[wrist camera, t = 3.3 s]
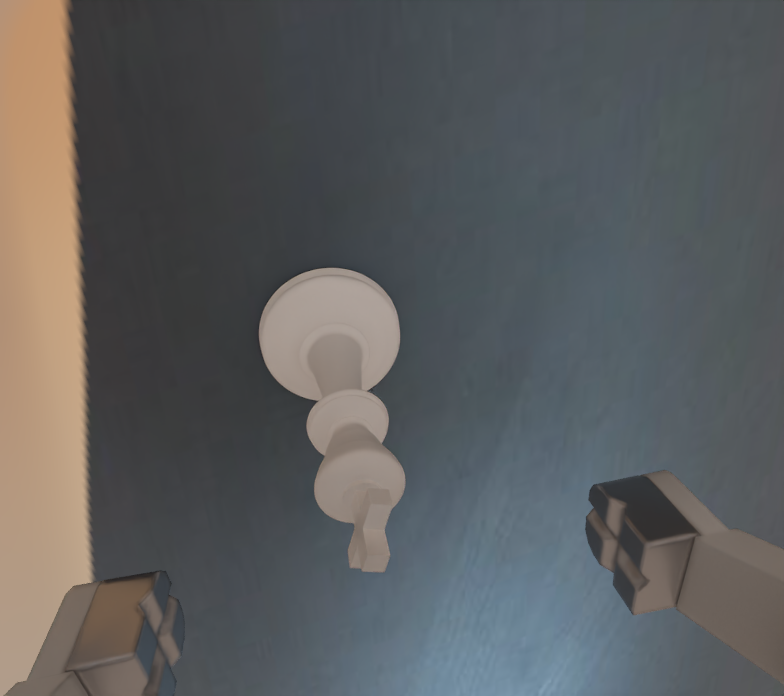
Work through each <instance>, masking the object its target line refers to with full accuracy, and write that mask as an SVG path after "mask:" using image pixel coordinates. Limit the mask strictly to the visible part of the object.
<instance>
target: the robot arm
mask: <svg viewBox="0 0 784 696" xmlns="http://www.w3.org/2000/svg"><path fill="white" fill-rule="evenodd" d="M588 500H589V501H590V503H591V504H592V506H593V507H594V508H593V509H592V510H591V512H590V513H589V514H588V515H587V516H586V528H585V530H586V535H587V539H588V543H589V546H590V548H591V550H592V553H593V555H594V556H595V558H596V559H597V561H598V562H599V564H600V565H601V566H603V567H605V568H606V569H608V570H610V571H611V572H613V573H614V577H613V586H614V587H615V589H616V590H617V592H618V593H619V595H620V596H621V598H622V599H623V601H624V602H625V604H626V605H627V607H628V608H629V610H630V611H631V613H632V614H633V615H637V614H642V613H647V612H652V611H657V610H662V609H667V608H672V607H677V608H676V610H678V611H679V612H681V613H682V614H684V615H685V616H686V617H688V618H689V619H691V620H692V621H694V622H695V623H696V624H698V625H699V626H701V627H702V628H704V629H705V630H707V631H708V632H709V633H711V634H712V635H714V636H715V637H717V638H718V639H719V640H721V641H722V642H724V643H725V644H727V645H728V646H729V647H731V648H732V649H734V650H735V651H737V652H738V653H739V654H741V655H742V656H744V657H745V658H747V659H748V660H749V661H751V662H752V663H754V664H755V665H757V666H758V667H759V668H761V669H762V670H764V671H765V672H767V673H768V674H769V675H771V676H772V677H774V678H775V679H777V680H778V681H779V682H781V683H782V684H784V549H782V548H779V547H777V546H775V545H773V544H770V543H768V542H766V541H764V540H761V539H759V538H757V537H755V536H752V535H750V534H748V533H746V532H743V531H741V530H739V529H731V530H729V529H728V528H727V527H726V526H725V525H724V524H723V523H722V522H721V521H720V520H719V519H718V518H717V517H716V516H715V515H714V514H713V513H712V512H711V511H710V510H709V509H708V508H707V507H706V506H705V505H704V504H703V503H702V502H701V501H700V500H699V499H698V498H697V497H696V496H695V495H694V494H693V493H692V492H691V491H690V490H689V489H688V488H687V487H686V486H685V485H684V484H683V483H682V482H680V481H679V480H678V479H677V478H676V477H675V476H674V475H673V474H672V473H671V472H668V471H666V470H663V471H658V472H653V473H648V474H643V475H640V476H633V477H628V478H623V479H618V480H614V481H609V482H604V483H599V484H594V485H593V486H592V488H591V489H590V492H589V499H588ZM171 584H172V583H171V581H170V579H169V576H168V574H167V572H166V571H161V570H160V571H155V572H149V573H143V574H137V575H131V576H125V577H120V578H114V579H108V580H103V581H99V582H93V583H88V584H82V585H76V586H73V587H72V588H71V589H70V590H69V591H68V592H67V593H66V595H65V597H64V599H63V601H62V603H61V606H60V608H59V610H58V612H57V614H56V617H55V619H54V621H53V623H52V626H51V628H50V630H49V632H48V634H47V637H46V639H45V641H44V643H43V645H42V648H41V650H40V652H39V654H38V656H37V659H36V661H35V663H34V665H33V668H32V670H31V672H30V674H29V676H28V679H27V681H23V682H18V683H16V684H15V685H14V686H13V687H12V688H11V689H10V690H9V691H8V692H7V693H6V694H5V695H4V696H174V692H175V687H176V682H177V681H176V679H175V676H174V674H173V672H172V670H171V668H172V667H173V666H174V664H175V663H176V662H177V661H178V659H179V658H180V657H181V656H182V651H183V645H184V639H185V620H184V615H183V610H182V607H181V604H180V602H179V600H178V599H176V598H174V597H173V596H171V595H169V593H170V589H171ZM782 696H784V692H783V694H782Z"/></svg>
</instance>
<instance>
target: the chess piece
mask: <svg viewBox="0 0 784 696" xmlns="http://www.w3.org/2000/svg"><path fill="white" fill-rule="evenodd" d="M259 342H260V347H261V351H262V355H263V358H264V361H265V364H266V366H267V368H268V369H269V371H270V373H271V374H272V375H273V377H274V378H275V379H276V380H277V381H278V382H279V383H280V384H281V385H282V386H283V387H285V388H286V389H288V390H289V391H291V392H293V393H294V394H296V395H299V396H301V397H304V398H307V399H311V400H316V401H318V402H317V403H316V404H315V405H314V407H313V408H312V409H311V411H310V413H309V416H308V419H307V434H308V437H309V439H310V441H311V442H312V444H313V445H314V447H315V448H316V449H317V450H318V451H319V452H320V453H321V454H323V455H324V456H325V457H324V459H323V461H322V463H321V465H320V467H319V470H318V473H317V476H316V479H315V484H314V494H315V498H316V501H317V503H318V505H319V507H320V508H321V509H322V510H323V512H325V513H326V514H327V515H328V516H330V517H332V518H334V519H336V520H338V521H342V522H347V523H354V527H355V529H354V532H353V535H352V538H351V542H350V545H349V548H348V557H349V564H350V568H361V569H362V572H385V569H386V566H387V563H388V561H389V558H390V552H389V548H388V543H387V539H386V535H385V530H384V529H385V526H386V524H387V521H388V518H389V515H390V512H391V509H392V508H393V507H394V506H395V505H396V504H397V503H398V502H399V500H400V498H401V497H402V495H403V492H404V489H405V474H404V470H403V468H402V466H401V464H400V463H399V461H398V460H397V459H396V457H395V456H394V455H393V454H392V453H391V452H390V451H389V450H388V449H387V448H386V447H384V446H383V445H382V444H381V443H382V442H383V440H384V438H385V436H386V434H387V429H388V424H389V416H388V412H387V409H386V407H385V405H384V404H383V402H382V401H381V400H380V399H379V398H378V397H377V396H375V395H374V394H372V393H370V392H367V391H368V390H369V389H371V388H372V387H374V386H375V385H376V384H377V383H378V382H380V381H381V380H382V379H383V378H384V376H385V375H386V374H387V373H388V371H389V370H390V368H391V367H392V365H393V363H394V361H395V359H396V356H397V353H398V350H399V345H400V327H399V320H398V315H397V312H396V309H395V306H394V304H393V302H392V300H391V299H390V297H389V296H388V294H387V293H386V292H385V291H384V290H383V289H382V288H381V287H380V286H379V285H378V284H377V283H376V282H374V281H373V280H372V279H370V278H368V277H366V276H365V275H362V274H360V273H358V272H355V271H352V270H348V269H342V268H321V269H315V270H311V271H308V272H305V273H302V274H300V275H298V276H296V277H294V278H292V279H290V280H289V281H287V282H286V283H285V284H283V285H282V286H281V287H280V288H279V289H278V290H277V291H276V292H275V293H274V294H273V295H272V297H271V298H270V300H269V301H268V303H267V304H266V306H265V308H264V311H263V313H262V316H261V320H260V325H259Z"/></svg>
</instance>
